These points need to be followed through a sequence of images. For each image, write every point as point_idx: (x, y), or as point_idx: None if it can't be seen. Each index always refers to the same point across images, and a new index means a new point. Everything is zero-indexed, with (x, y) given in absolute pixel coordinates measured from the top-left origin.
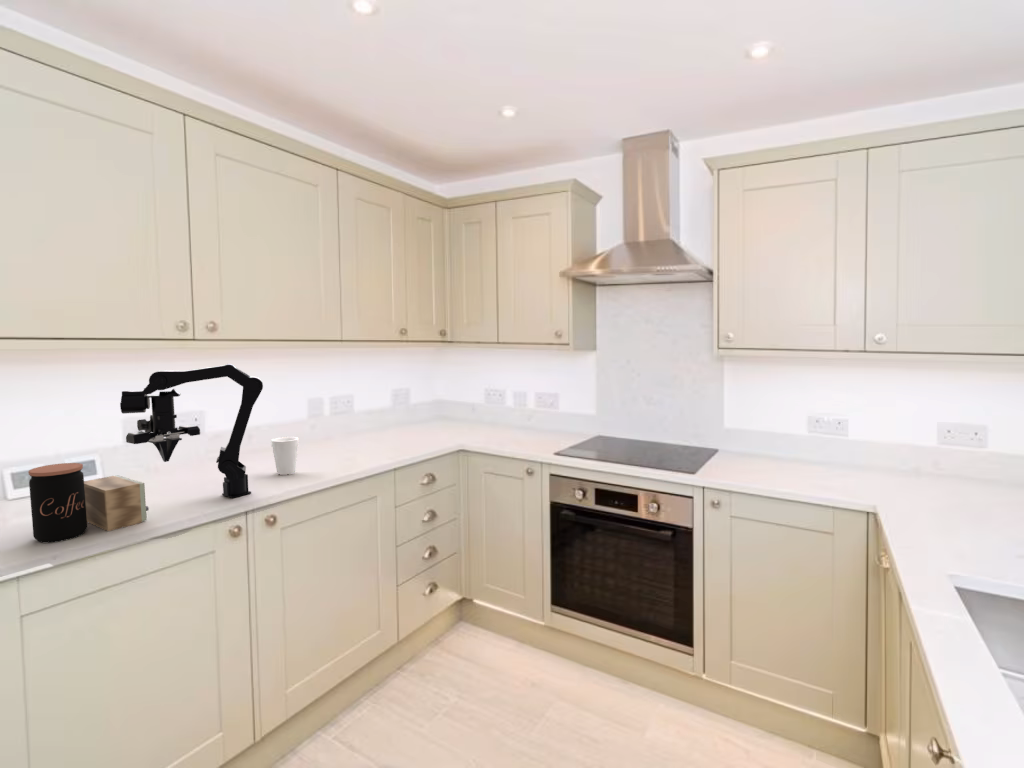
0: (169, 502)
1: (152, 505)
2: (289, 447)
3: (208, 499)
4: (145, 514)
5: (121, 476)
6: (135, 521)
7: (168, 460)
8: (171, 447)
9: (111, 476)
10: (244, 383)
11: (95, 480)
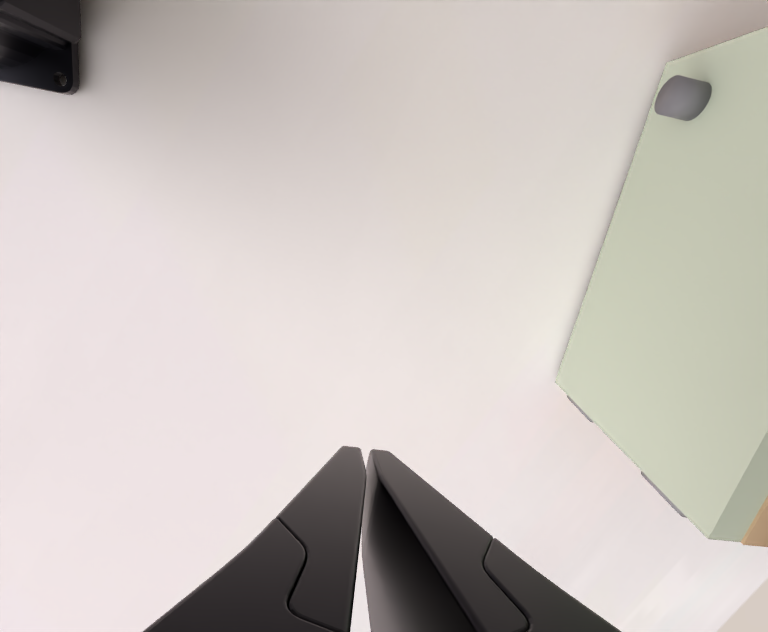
0: (352, 294)
1: (427, 329)
2: None
3: (193, 105)
4: (699, 54)
5: (748, 474)
6: None
7: (349, 447)
8: (330, 590)
9: (766, 535)
10: None
11: None
